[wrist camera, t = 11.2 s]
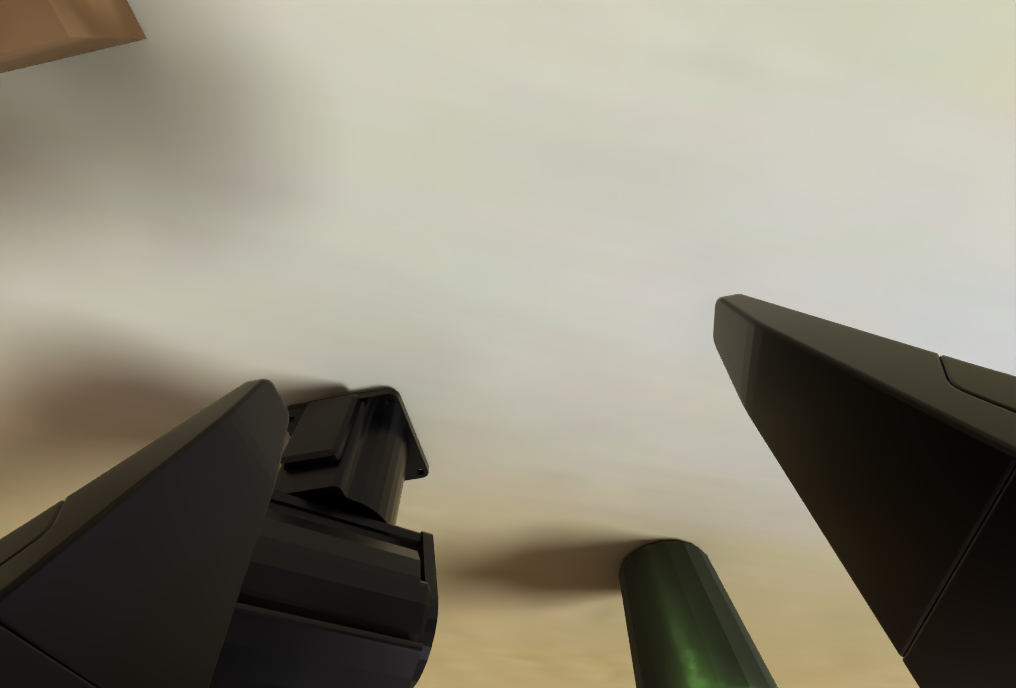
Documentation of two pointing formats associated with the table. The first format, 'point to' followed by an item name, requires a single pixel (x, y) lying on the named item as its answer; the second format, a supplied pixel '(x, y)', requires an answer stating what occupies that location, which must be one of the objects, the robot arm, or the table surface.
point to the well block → (61, 29)
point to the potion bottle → (685, 623)
